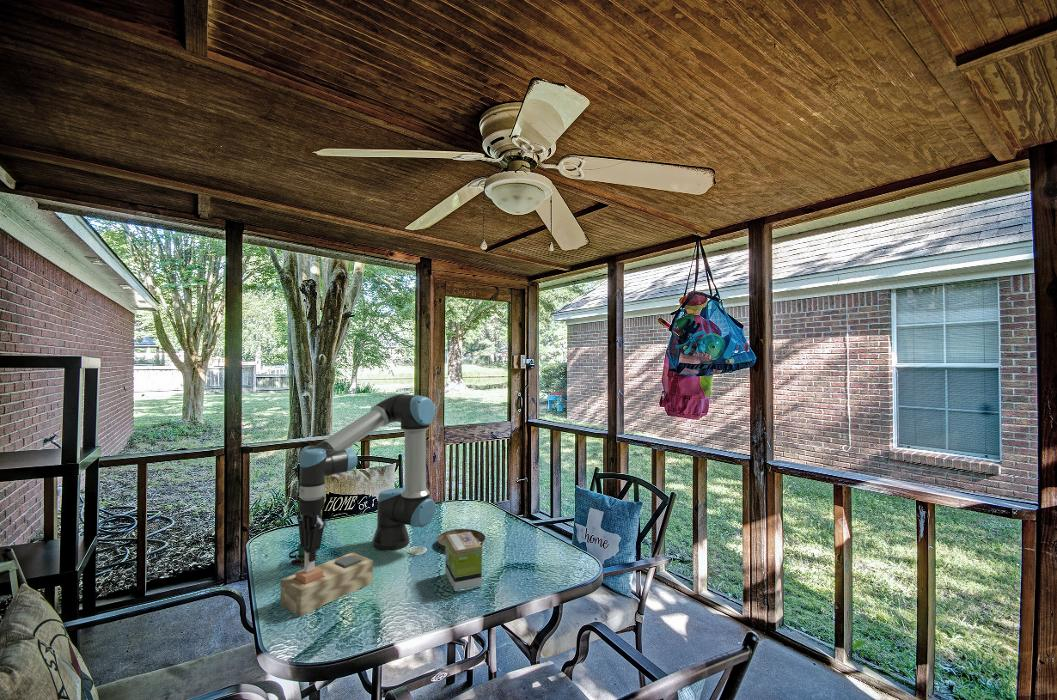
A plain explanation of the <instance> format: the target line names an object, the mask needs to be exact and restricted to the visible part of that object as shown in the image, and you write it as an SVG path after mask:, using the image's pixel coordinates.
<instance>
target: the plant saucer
mask: <svg viewBox="0 0 1057 700" xmlns="http://www.w3.org/2000/svg"><path fill="white" fill-rule="evenodd" d="M464 532H471V533H472V534H473V536H474V537H475V538H476V540H477V541H478V542H481V543H480V545H481V546H482V545H483V543H484V542H485V540H486V535H485V534H484V533H483V532H482V531H479V530H475V529H472V528H471V529H470V528H458V529H457V528H456V529H451V530H450V529H449V530H447V531H444V532H442V533H440V534H439V535H438V536H437V538H436V539H437V542H438V544H439V545H440V546H441V548H443V549H444V550H446V535H452V534H458V533H464Z"/></svg>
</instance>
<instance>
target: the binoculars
mask: <svg viewBox="0 0 1057 700" xmlns="http://www.w3.org/2000/svg"><path fill="white" fill-rule="evenodd" d="M297 552H298V553H297ZM294 553H295V554H294ZM317 553H318V550H316V551H315V562H316V561H317V560H318V559H317V556H316V554H317ZM288 557H289V559H293V560H291V564H290V565H297V564H299V565H300V566H302V567H304V561H305V558H304V557H305V550H304V549H303V547H301V546H300V543H299V544H298V547H297V548H295V549H293V550H292V551H290V552H289V553H288Z"/></svg>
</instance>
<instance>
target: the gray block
mask: <svg viewBox="0 0 1057 700" xmlns="http://www.w3.org/2000/svg"><path fill="white" fill-rule="evenodd" d="M360 561H361V559H358V558H356V557H353V556H351V555H349V556H347V557H344V558H342V559H339V560H336V561H335V564H336V565H338V566H340V567H343V568H347V567H350V566H352V565H355V564H357V563H360Z"/></svg>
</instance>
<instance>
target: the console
mask: <svg viewBox="0 0 1057 700" xmlns="http://www.w3.org/2000/svg"><path fill="white" fill-rule="evenodd" d="M349 555H351V556H353V557H356V558H358V559H361V561H360V563H357V564H355V565H352V566H350V567H347V568H343V567H340V566H338V565H336V564H335V561H336V560H339V559H342V558H344V557H347V556H349ZM315 567H318V568H320V569H322V570H323V578H320V579H318V580H315V581H313V582H311V583H308V584H306V585H304V584H302V583H300V582H299V581H297V580H295V573H294V574H292V575H288V576H286V577H284V578H281V579H280V603H279V605H280V606H281V607H283V608H285V609H287V610H288V611H291V612H292V613H293V614H295V615H296V616H299V617H300V618H301V617H303V616H306V615H307V614H310V613H312V612H314V611H317V610H318V608H319V609H321V608H323V607H324V606H323V605H325V604H327V603H329V602H331V601H333V600H335V599H337V598H339V597H341V596H343V595H346V594H348V593H351V592H353V593H355V592H357V591H359V590H358V589H360V588H362V589H364V588H366V587H368V586H370V585H372V584H373V575H374V560H373V559H370V558H368V557H366V556H362V555H360V554H358V553H356V552H353V551H352V552H349V553H348V554H347V553H346V554H344V555H341V556H340V557H339V556H338V557H336V558H333V559H331V560H329V561H326V562H324V563H321V564H317V565H315ZM365 586H366V587H365ZM363 587H364V588H363ZM356 590H357V591H356ZM360 590H361V589H360ZM354 591H355V592H354ZM351 594H352V593H351ZM329 604H330V603H329ZM327 605H328V604H327ZM322 606H323V607H322ZM325 606H326V605H325ZM320 607H321V608H320ZM316 609H317V610H316Z"/></svg>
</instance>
